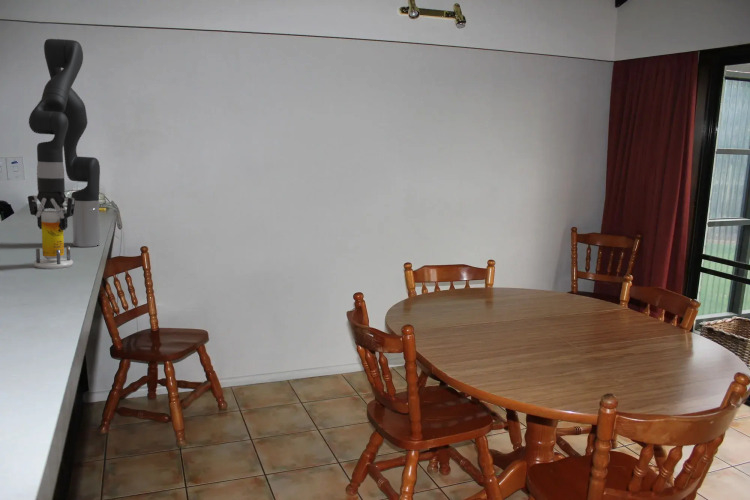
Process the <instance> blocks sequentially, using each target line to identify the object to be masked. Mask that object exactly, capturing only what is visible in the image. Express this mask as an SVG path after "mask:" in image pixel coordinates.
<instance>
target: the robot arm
mask: <svg viewBox="0 0 750 500" xmlns="http://www.w3.org/2000/svg"><path fill="white" fill-rule="evenodd" d="M43 52H44V59H45V62H46V66H47V70H48V74H49V77H50V79H49V80H48V81H47V83H46V84H45V85H44V88H43V91H42V95H41V99H40V100H39V102H37V105H35V107H34V109H33V110H32V111H31V112H30V115H29V116H28V126H29V128H30V131H32V132H33V133H35V134H40V135H54V137H53V138H52V139H51V140H50V141H42V142H39V143H38V144H37V145H36V154H37V155H36V156H37V157H36V158H37V162H36V163H37V165H36V182H37V185H36V186H37V195H28V196H27V201H28V207H29V211H30V215H32V216H36V219H37V222H36V223H37V227H38V228H39V230H42V223H41V214H42V212H43V211H45V210H49V209H51V210H56V211H57V212H58V213H59V215H60V217H61V219H60V229H61V230H63V231H66V229H67V228H68V226H69V225H68V218H70V217H71V218H72V219H71V220H72V222H71V223H72V224H71V225H72V246H74V247H80V248H89V247H97V245H98V246H100V245H99V244H101V241H100V239H101V238H100V237H101V235H100V227H101V226H100V181H101V180H100V176H101V165H100V162H99V160H98V159H97V158H96V157H92V156H91V157H90V156H78V153H77V147H78V144H79V141H80V140H81V137H82V136H83V134H84V132H85V130H86V128H87V126H88V116H87V110H86V105H85V103H84V100H83V99H82V98H81V97H80V96H79V95H78V94H77V92H76V91H75V90H74V88H73V85H74V82H75V80H76V78H77V76H78V75H79V73H80V71H81V68H82V65H83V63H84V51H83V47H82V45H81V43H80V42H79V41H77V40H73V39H60V38H48V39H46V40H45V41H44V43H43ZM65 172H66V176H67V178H68V180H70V181H72V182H79V183H80V182H81V183H82V182H84V183H86V186H85V187H84V188H82V189H79V190H78V189H77V190H74V191H73V192H71V197H69V196H68V197H66V196H67V195H65V190H66V187H65V183H66V182H65ZM38 201H39V203H40V204H39V206H38V203H37V202H38ZM64 203H65V204H66V207H65V205H64Z"/></svg>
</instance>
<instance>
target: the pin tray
mask: <svg viewBox="0 0 750 500" xmlns="http://www.w3.org/2000/svg"><path fill="white" fill-rule="evenodd" d="M65 247H66V258H63V257H62V258H60V250H56V253H57V259H47V258H41V254H40V253H41V251H40V248H35V258H36V260H34V262H33V267H34V268H37V269H48V270H53V269H54V270H55V269H65V268H70V267H73V265H74V261H73V259H71V246H69V245H67V246H65Z"/></svg>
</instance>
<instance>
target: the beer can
mask: <svg viewBox="0 0 750 500" xmlns="http://www.w3.org/2000/svg"><path fill="white" fill-rule="evenodd" d="M60 219H61V217H60V215H59V213H58V212H57V211H56V209H47V210H45V211H43V212H42V214H41V223H42V229H41V243H42V245H41V246H42V256H43V257H44V259H57V253H56V250H60V258H63V257H64V255H65V239H64V236H65V235H64V233H65V232H64V231H65V230H61V229H60Z"/></svg>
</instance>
